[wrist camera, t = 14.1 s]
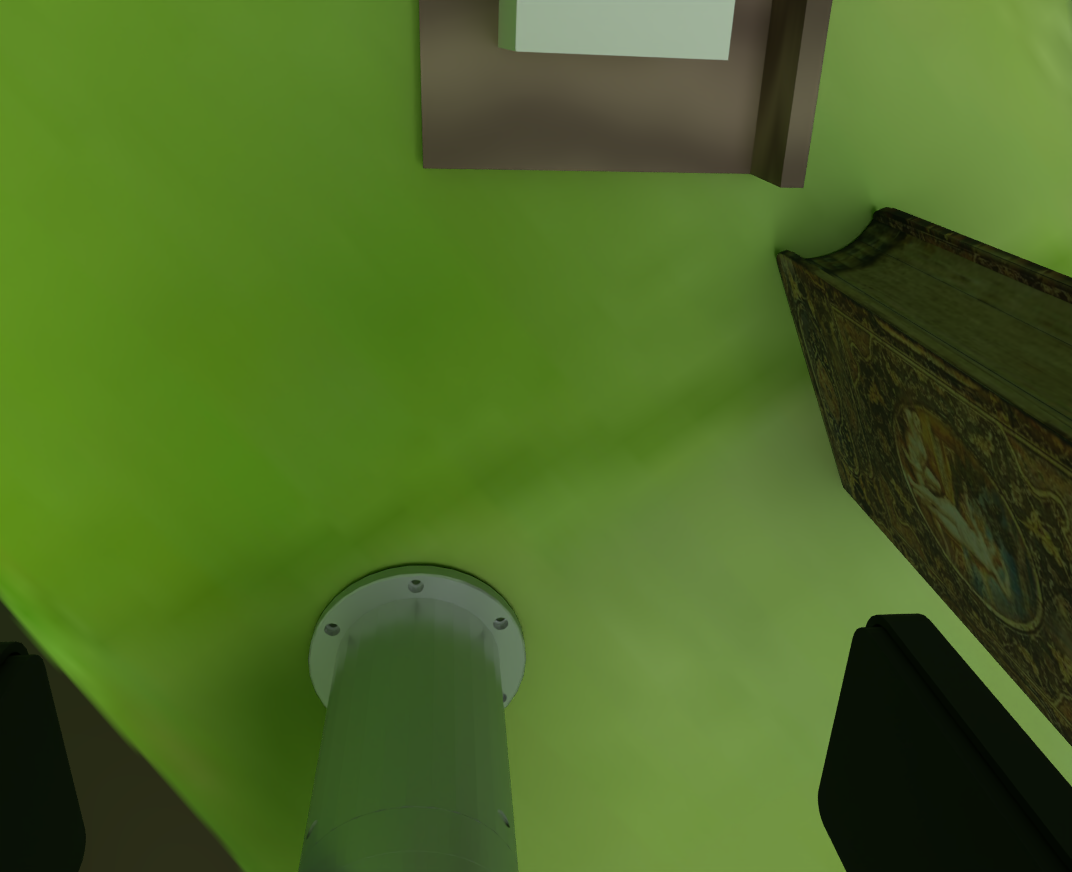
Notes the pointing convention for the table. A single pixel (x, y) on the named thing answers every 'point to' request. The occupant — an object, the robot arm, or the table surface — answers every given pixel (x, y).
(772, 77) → the shelf
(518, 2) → the plain rectangular box
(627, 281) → the table surface
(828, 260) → the book
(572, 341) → the table surface
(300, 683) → the table surface
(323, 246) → the table surface
